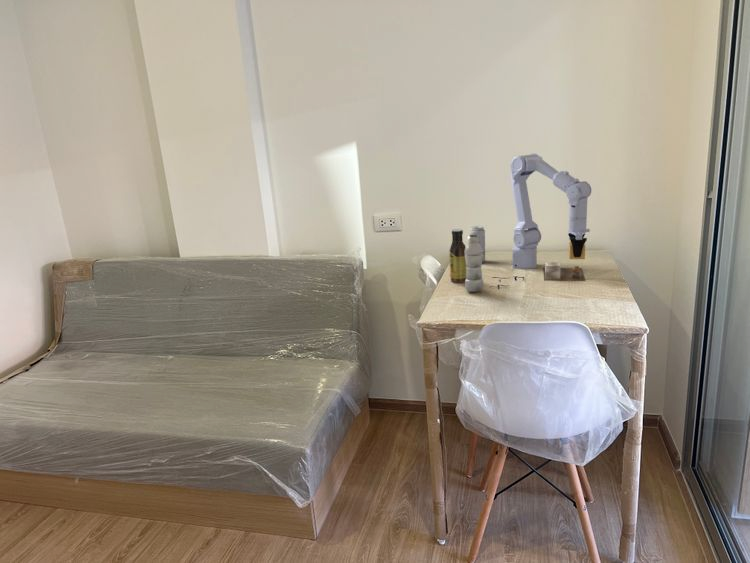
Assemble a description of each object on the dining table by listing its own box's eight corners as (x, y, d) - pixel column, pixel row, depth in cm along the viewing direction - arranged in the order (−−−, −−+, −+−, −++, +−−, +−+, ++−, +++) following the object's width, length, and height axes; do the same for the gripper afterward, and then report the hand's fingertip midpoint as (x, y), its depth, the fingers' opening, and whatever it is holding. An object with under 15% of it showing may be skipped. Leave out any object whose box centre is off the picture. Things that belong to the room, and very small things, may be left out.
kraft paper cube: (569, 259, 191) (570, 245, 189) (568, 255, 195) (569, 242, 194) (584, 259, 189) (585, 245, 188) (583, 255, 194) (583, 242, 193)
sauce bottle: (450, 278, 208) (449, 227, 202) (467, 278, 207) (465, 227, 201) (449, 283, 202) (447, 231, 196) (466, 283, 201) (465, 231, 195)
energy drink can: (487, 262, 225) (486, 227, 221) (472, 264, 225) (472, 229, 220) (483, 259, 231) (482, 224, 226) (469, 260, 231) (468, 226, 226)
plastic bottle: (463, 293, 190) (461, 238, 184) (467, 287, 196) (465, 233, 190) (481, 294, 187) (480, 238, 182) (485, 288, 193) (484, 234, 188)
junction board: (544, 283, 194) (544, 267, 192) (543, 270, 209) (543, 255, 207) (585, 283, 190) (586, 267, 189) (581, 270, 205) (582, 255, 203)
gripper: (592, 221, 180) (590, 260, 184) (588, 213, 194) (586, 249, 198) (570, 221, 182) (568, 260, 186) (567, 213, 196) (566, 249, 200)
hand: (576, 254), depth 192 cm, fingers closed on kraft paper cube, 5 cm apart
